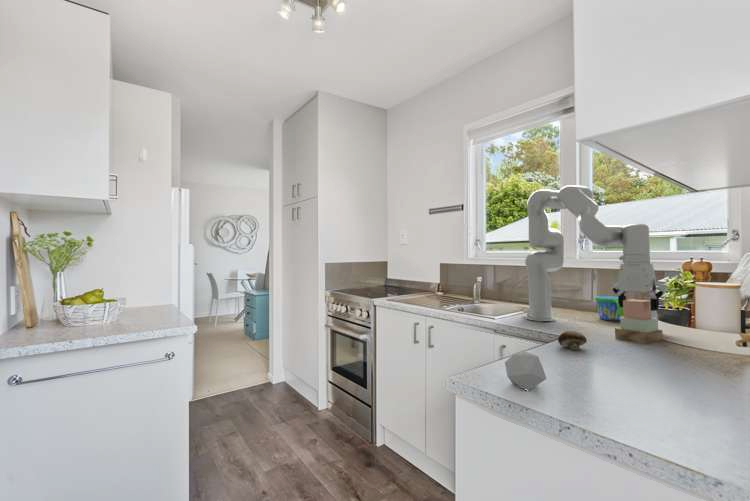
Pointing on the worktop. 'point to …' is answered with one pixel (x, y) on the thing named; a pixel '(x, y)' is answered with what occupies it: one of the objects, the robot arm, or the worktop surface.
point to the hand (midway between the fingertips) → (638, 308)
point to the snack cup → (608, 308)
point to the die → (525, 370)
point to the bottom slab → (639, 336)
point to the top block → (639, 324)
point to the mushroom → (572, 340)
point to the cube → (637, 309)
